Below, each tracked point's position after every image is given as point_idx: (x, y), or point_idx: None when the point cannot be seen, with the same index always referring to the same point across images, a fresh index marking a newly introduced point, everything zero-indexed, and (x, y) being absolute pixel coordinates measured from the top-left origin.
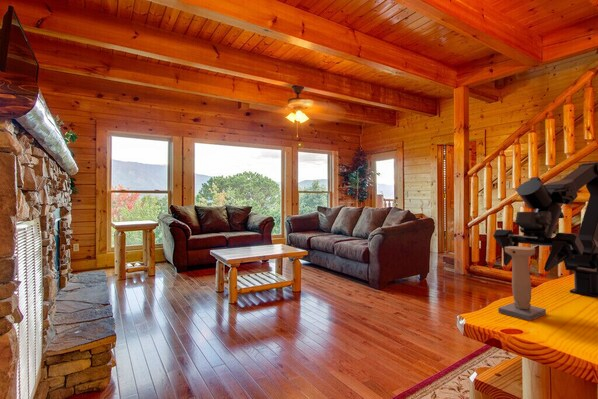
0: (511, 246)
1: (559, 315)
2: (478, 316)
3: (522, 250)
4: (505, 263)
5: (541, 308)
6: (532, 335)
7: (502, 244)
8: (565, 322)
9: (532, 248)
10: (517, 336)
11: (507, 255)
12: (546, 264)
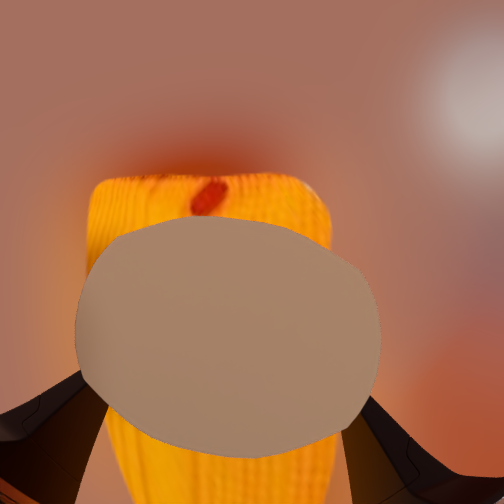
0: (346, 399)
1: None
2: (305, 231)
3: (158, 229)
4: None
5: None
6: (170, 206)
7: (456, 475)
8: None
9: (97, 360)
10: (191, 182)
11: (367, 428)
12: None
